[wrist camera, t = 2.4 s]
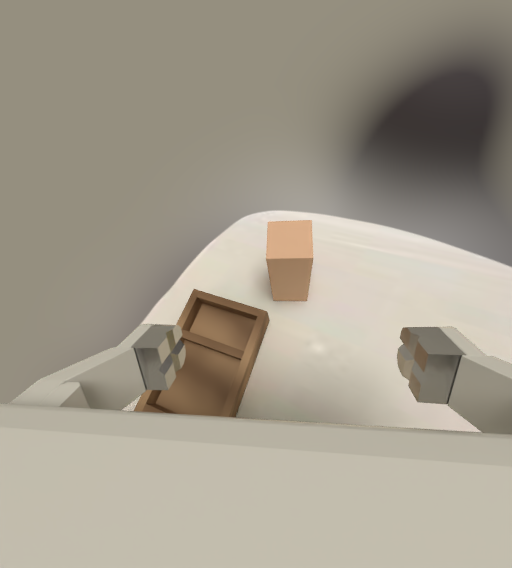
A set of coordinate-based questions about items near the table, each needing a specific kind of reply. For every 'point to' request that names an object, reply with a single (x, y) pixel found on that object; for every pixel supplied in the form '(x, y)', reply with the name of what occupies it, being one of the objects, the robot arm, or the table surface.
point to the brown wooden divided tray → (211, 358)
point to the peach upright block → (289, 259)
